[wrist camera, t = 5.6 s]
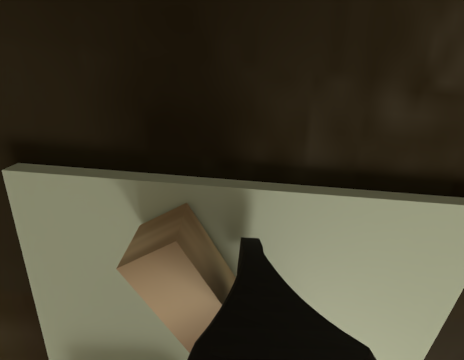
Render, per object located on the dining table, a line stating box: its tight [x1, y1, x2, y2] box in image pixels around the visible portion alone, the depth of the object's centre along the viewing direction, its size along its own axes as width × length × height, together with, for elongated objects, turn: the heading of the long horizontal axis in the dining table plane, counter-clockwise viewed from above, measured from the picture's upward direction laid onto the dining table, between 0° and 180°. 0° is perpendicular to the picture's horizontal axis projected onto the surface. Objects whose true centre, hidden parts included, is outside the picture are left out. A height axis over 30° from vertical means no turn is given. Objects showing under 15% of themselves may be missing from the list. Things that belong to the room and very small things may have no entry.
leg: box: [116, 203, 236, 353], centre depth 13 cm, size 15×4×3 cm, turn 27°
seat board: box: [2, 163, 464, 360], centre depth 16 cm, size 19×24×1 cm
